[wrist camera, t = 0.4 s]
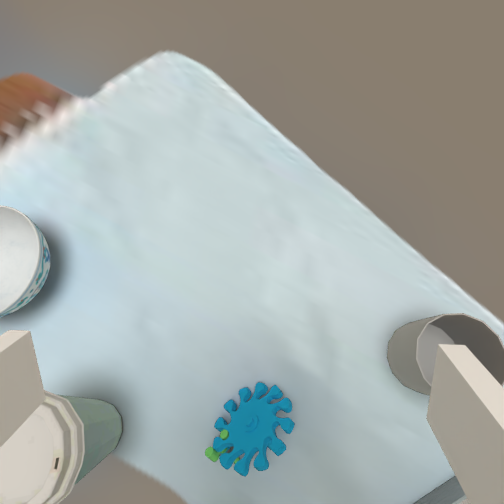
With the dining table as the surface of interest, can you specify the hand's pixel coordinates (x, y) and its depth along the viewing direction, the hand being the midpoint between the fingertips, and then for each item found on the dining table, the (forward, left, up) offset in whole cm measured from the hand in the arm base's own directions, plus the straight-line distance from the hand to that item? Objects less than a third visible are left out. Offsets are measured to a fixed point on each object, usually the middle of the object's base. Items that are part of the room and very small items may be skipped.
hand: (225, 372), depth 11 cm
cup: (-9, -16, -35) cm, 39 cm away
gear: (-5, +6, -35) cm, 36 cm away
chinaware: (+28, +25, -35) cm, 51 cm away
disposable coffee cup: (+4, +23, -35) cm, 42 cm away
